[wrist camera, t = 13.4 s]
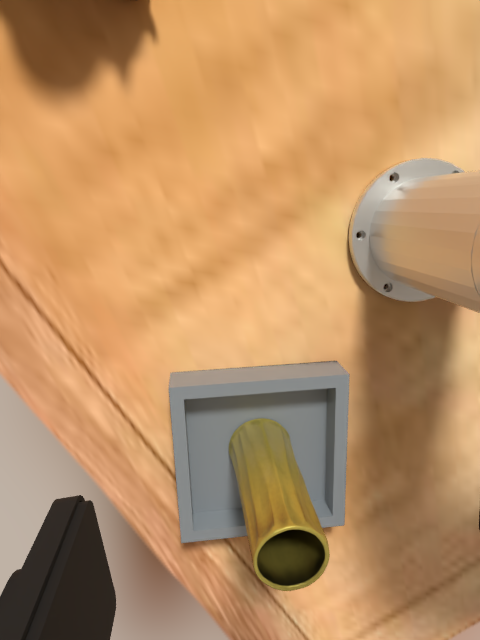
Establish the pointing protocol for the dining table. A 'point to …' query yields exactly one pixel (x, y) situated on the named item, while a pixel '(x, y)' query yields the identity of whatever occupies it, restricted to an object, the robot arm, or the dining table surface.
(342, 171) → the dining table surface
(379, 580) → the dining table surface
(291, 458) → the vase
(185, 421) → the tray
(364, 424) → the dining table surface
